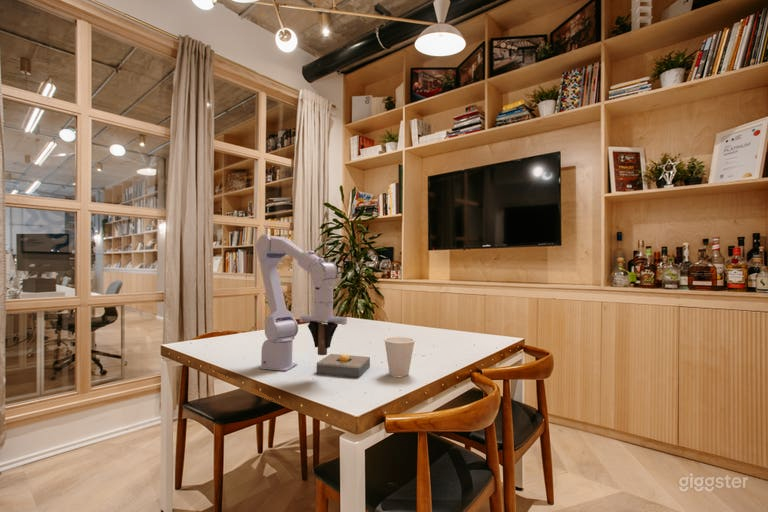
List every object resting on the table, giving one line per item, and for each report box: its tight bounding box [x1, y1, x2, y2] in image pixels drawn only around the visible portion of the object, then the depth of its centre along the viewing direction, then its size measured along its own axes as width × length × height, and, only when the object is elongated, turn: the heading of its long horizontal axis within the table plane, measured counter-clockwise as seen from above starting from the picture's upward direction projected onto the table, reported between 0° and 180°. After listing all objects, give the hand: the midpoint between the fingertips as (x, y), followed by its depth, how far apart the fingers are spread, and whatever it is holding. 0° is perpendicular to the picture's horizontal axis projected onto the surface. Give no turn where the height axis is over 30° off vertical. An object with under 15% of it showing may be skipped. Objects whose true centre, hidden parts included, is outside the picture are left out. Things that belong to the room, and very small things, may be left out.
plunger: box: [339, 354, 349, 362], centre depth 121 cm, size 3×3×2 cm
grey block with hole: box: [316, 353, 371, 379], centre depth 121 cm, size 14×12×3 cm
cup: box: [383, 336, 416, 377], centre depth 118 cm, size 10×10×11 cm
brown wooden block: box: [317, 323, 328, 356], centre depth 113 cm, size 3×3×9 cm
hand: (322, 347), depth 113 cm, fingers closed on brown wooden block, 3 cm apart
